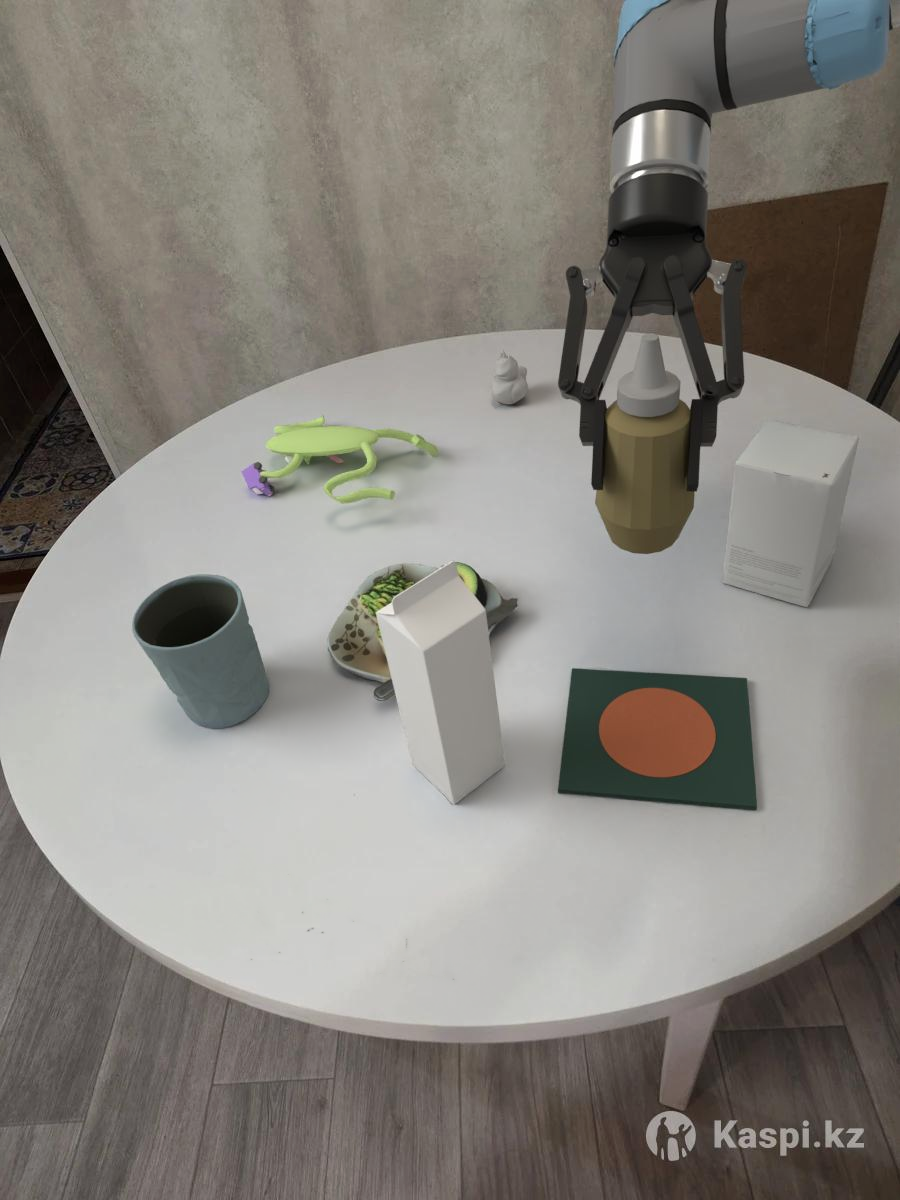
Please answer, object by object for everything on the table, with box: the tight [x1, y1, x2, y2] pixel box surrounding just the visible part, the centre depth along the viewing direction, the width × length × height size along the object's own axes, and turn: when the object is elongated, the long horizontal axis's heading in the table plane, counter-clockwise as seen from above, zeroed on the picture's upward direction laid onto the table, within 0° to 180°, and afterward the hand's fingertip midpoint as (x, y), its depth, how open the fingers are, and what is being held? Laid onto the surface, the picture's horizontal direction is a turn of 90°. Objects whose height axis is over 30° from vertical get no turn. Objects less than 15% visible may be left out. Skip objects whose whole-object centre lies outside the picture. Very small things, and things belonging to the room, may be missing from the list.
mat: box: [557, 667, 758, 811], centre depth 76 cm, size 16×14×1 cm
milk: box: [376, 560, 506, 805], centre depth 69 cm, size 6×6×22 cm
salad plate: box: [326, 561, 518, 702], centre depth 87 cm, size 19×18×5 cm
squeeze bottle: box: [594, 332, 696, 555], centre depth 68 cm, size 8×8×18 cm
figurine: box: [240, 414, 440, 504], centre depth 112 cm, size 18×27×6 cm
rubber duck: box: [490, 349, 529, 405], centre depth 121 cm, size 5×7×8 cm
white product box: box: [722, 418, 860, 608], centre depth 85 cm, size 9×9×15 cm
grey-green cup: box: [131, 573, 270, 730], centre depth 82 cm, size 10×10×12 cm
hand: (644, 487), depth 66 cm, fingers closed on squeeze bottle, 6 cm apart
